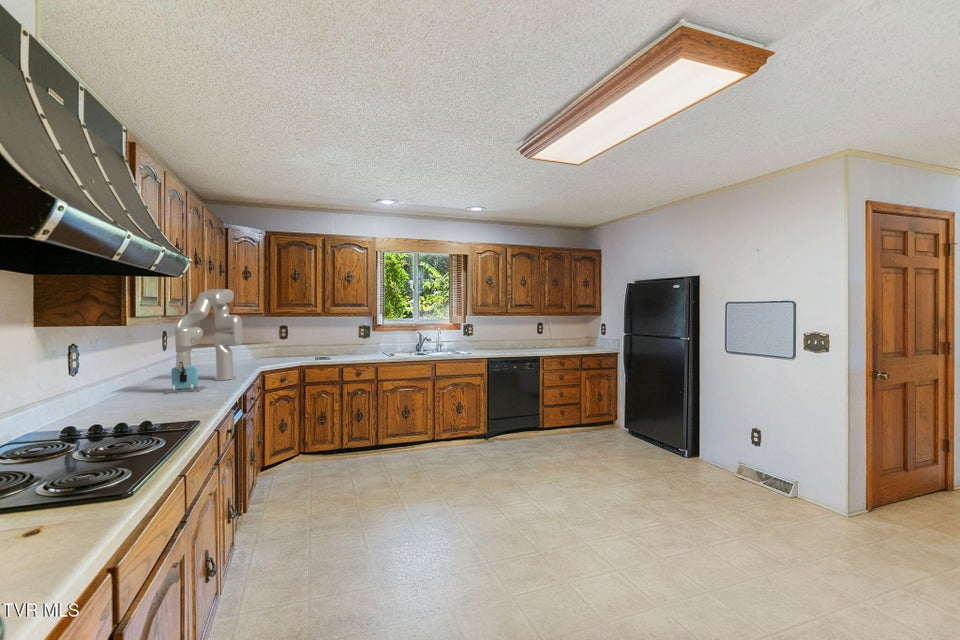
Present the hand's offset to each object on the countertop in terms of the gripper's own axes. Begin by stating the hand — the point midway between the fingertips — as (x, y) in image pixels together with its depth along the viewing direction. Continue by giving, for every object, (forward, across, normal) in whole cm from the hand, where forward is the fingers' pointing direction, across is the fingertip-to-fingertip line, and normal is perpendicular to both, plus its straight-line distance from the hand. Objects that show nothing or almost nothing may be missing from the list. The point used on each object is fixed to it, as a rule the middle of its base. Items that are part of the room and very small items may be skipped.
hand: (185, 380), depth 261 cm
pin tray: (+6, 0, 0) cm, 6 cm away
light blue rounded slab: (+4, 0, 0) cm, 4 cm away
